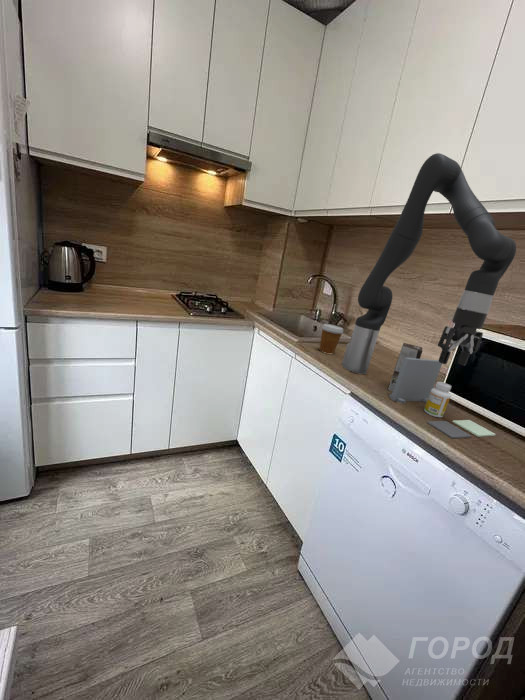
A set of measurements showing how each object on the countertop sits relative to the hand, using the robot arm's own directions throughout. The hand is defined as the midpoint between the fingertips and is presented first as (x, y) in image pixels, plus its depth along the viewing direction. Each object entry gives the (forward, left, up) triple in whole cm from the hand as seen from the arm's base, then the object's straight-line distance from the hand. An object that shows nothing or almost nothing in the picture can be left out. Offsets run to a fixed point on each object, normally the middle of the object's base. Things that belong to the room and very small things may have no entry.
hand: (451, 363), depth 96 cm
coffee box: (-17, +3, -16) cm, 24 cm away
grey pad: (+9, -5, -16) cm, 19 cm away
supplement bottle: (0, 0, -16) cm, 16 cm away
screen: (-9, 0, -16) cm, 18 cm away
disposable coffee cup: (-56, -1, -16) cm, 58 cm away
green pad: (+9, +6, -16) cm, 19 cm away
